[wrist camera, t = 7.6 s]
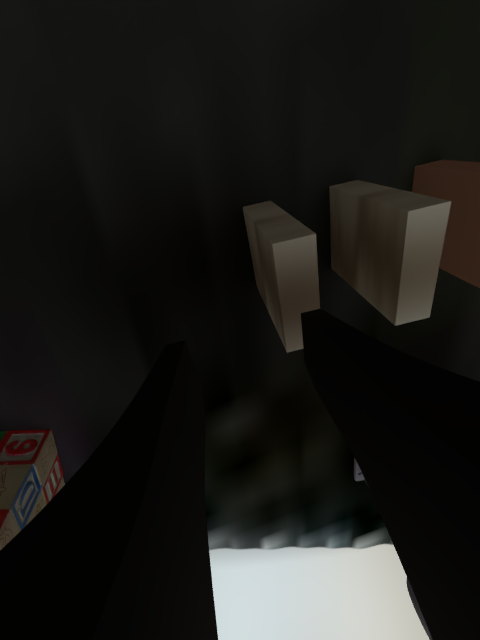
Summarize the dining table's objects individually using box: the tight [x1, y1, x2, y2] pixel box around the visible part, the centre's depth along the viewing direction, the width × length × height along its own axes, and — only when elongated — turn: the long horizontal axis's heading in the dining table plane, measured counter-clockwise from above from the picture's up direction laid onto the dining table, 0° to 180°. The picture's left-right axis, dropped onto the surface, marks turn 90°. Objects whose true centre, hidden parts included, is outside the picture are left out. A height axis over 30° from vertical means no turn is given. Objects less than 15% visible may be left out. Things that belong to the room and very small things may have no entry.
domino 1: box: [243, 201, 320, 352], centre depth 15 cm, size 5×2×7 cm, turn 11°
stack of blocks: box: [0, 430, 65, 550], centre depth 22 cm, size 21×6×12 cm, turn 173°
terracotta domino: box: [412, 160, 480, 288], centre depth 15 cm, size 5×2×7 cm, turn 11°
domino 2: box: [329, 180, 451, 326], centre depth 15 cm, size 5×2×7 cm, turn 11°
